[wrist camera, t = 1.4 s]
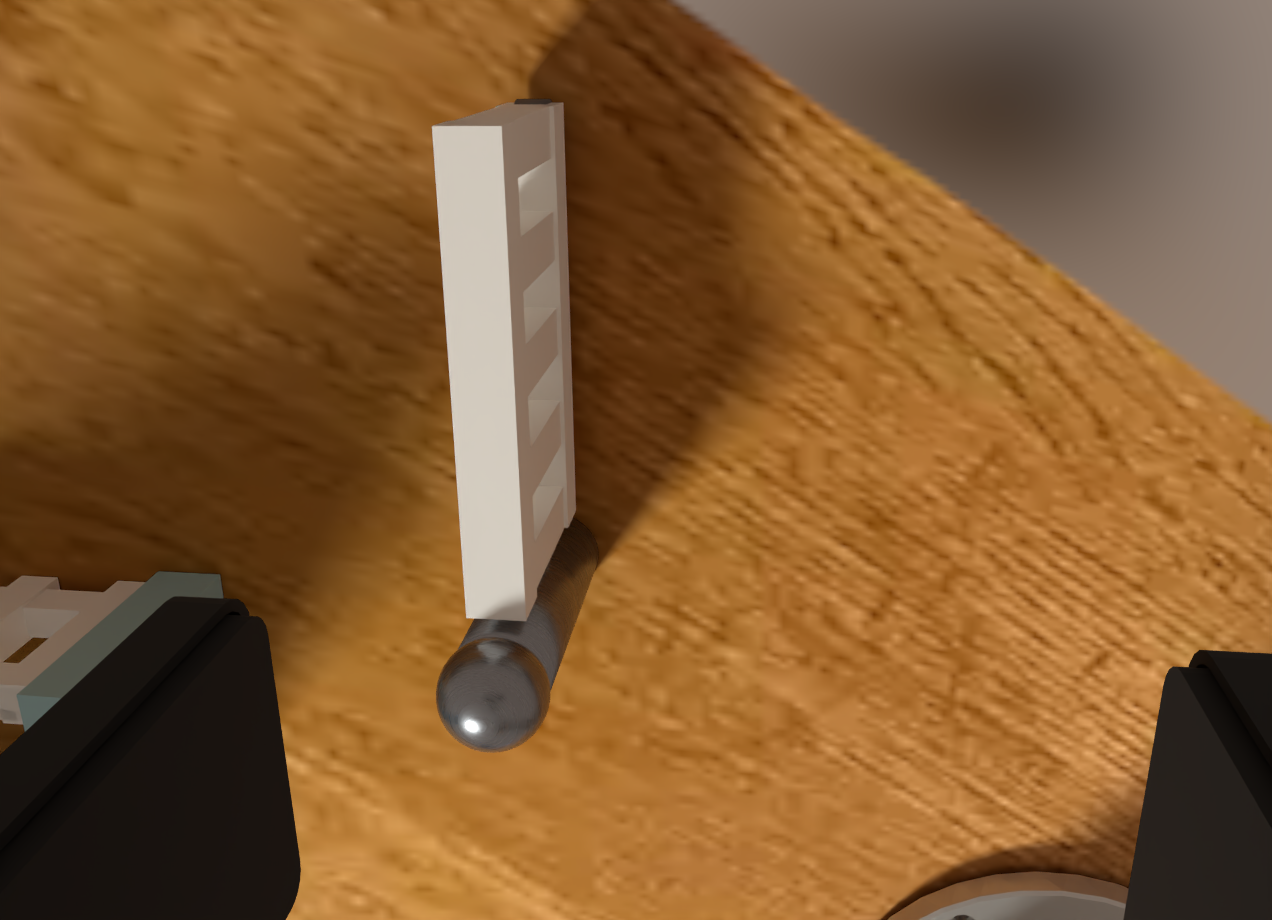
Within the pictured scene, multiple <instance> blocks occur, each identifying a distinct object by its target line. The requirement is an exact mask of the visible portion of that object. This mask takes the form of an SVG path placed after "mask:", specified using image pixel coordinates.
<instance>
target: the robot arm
mask: <svg viewBox="0 0 1272 920" xmlns="http://www.w3.org/2000/svg"><path fill="white" fill-rule="evenodd" d="M300 872H301V868H300V857H299V850H298V843H297V836H296V829H295V821H294V814H293V807H292V800H291V793H290V786H289V779H288V772H287V765H286V758H285V751H284V744H283V737H282V730H281V723H280V716H279V709H278V702H277V694H276V687H275V680H274V673H273V666H272V659H271V652H270V645H269V638H268V633H267V628H266V625H265V623H264V622H263V620H262V619H261V618H259V617H256V616H250V615H249V612H248V610H247V608H246V606H245V605H244V603H242V602H241V601H240V600H238V599H224V598H205V597H186V596H174V597H172V598H170V599H169V600H167V601H166V602H164V603H163V604H162V605H161V606H160V607H159V608H158V609H157V610H156V611H155V612H154V613H153V614H152V615H150V616H149V617H148V618H147V619H146V620H145V621H144V622H143V623H142V624H141V625H140V626H139V627H138V628H136V629H135V630H134V631H133V632H132V633H131V634H130V635H129V636H128V637H127V638H126V639H125V640H124V641H122V642H121V643H120V644H119V645H118V646H117V647H116V648H115V649H114V650H113V651H112V652H111V653H109V654H108V655H107V656H106V657H105V658H104V659H103V660H102V661H101V662H100V663H99V664H98V665H97V666H95V667H94V668H93V669H92V670H91V671H90V672H89V673H88V674H87V675H86V676H85V677H84V678H83V679H81V680H80V681H79V682H78V683H77V684H76V685H75V686H74V687H73V688H72V689H71V690H70V691H69V692H67V693H66V694H65V695H64V696H63V697H62V698H61V699H60V700H59V701H58V702H57V703H56V704H55V705H53V706H52V707H51V708H50V709H49V710H48V711H47V712H46V713H45V714H44V715H43V716H42V717H40V718H39V719H38V720H37V721H36V722H35V723H34V724H33V725H32V726H31V727H30V728H29V729H28V730H26V731H25V732H24V733H23V734H22V735H21V736H20V737H19V738H18V739H17V740H16V741H15V742H14V743H12V744H11V745H10V746H9V747H8V748H7V749H6V750H5V751H4V752H3V753H2V754H1V755H0V920H286V918H287V916H288V914H289V913H290V911H291V909H292V907H293V904H294V902H295V899H296V896H297V893H298V888H299V883H300ZM888 920H1272V654H1266V653H1247V652H1228V651H1209V650H1199V651H1198V652H1197V653H1195V654H1194V656H1193V658H1192V660H1191V662H1190V664H1189V667H1172V668H1171V669H1169V671H1168V673H1167V675H1166V678H1165V682H1164V686H1163V691H1162V697H1161V703H1160V709H1159V715H1158V720H1157V726H1156V732H1155V738H1154V744H1153V750H1152V755H1151V761H1150V767H1149V773H1148V779H1147V785H1146V790H1145V796H1144V802H1143V808H1142V814H1141V820H1140V825H1139V831H1138V837H1137V843H1136V849H1135V855H1134V860H1133V866H1132V872H1131V878H1130V884H1129V888H1126V887H1124V886H1122V885H1119V884H1116V883H1111V882H1107V881H1103V880H1099V879H1094V878H1090V877H1086V876H1082V875H1076V874H1063V873H1050V872H1037V871H1036V872H1022V873H1008V874H995V875H991V876H986V877H982V878H977V879H973V880H969V881H964V882H960V883H956V884H953V885H951V886H948V887H946V888H944V889H941V890H939V891H936V892H934V893H931V894H929V895H926V896H924V897H921V898H920V899H918V900H916V901H915V902H913V903H912V904H910V905H908V906H907V907H905V908H904V909H902V910H900V911H899V912H897V913H895V914H894V915H892V916H891V917H890V918H889V919H888Z"/></svg>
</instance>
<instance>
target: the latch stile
mask: <svg viewBox="0 0 1272 920" xmlns="http://www.w3.org/2000/svg"><path fill="white" fill-rule="evenodd" d="M174 596H186V597H205V598H224V597H223V591H222V584H221V578H220V574H201V573H182V572H163V571H158V572H157V573H156V574H155V575H153V576H152V577H151V578H150V579H149V580H148V581H147V582H145V583H144V584H143V585H142V586H141V587H140V588H138V589H137V590H136V591H135V592H134V593H133V594H132V595H130V596H129V597H128V598H127V599H126V600H125V601H124V602H122V603H121V604H120V605H119V606H118V607H117V608H116V609H114V610H113V611H112V612H111V613H110V614H109V615H107V616H106V617H105V618H104V619H103V620H102V621H101V622H99V623H98V624H97V625H96V626H95V627H94V628H93V629H91V630H90V631H89V632H88V633H87V634H86V635H84V636H83V637H82V638H81V639H80V640H79V641H78V642H76V643H75V644H74V645H73V646H72V647H71V648H70V649H68V650H67V651H66V652H65V653H64V654H63V655H62V656H60V657H59V658H58V659H57V660H56V661H55V662H53V663H52V664H51V665H50V666H49V667H48V668H47V669H45V670H44V671H43V672H42V673H41V674H40V675H39V676H37V677H36V678H35V679H34V680H33V681H32V682H30V683H29V684H28V685H27V686H26V687H25V688H24V689H22V690H21V691H20V692H19V693H18V694H17V700H18V704H19V708H20V713H21V717H22V721H23V726H24V730H25V731H26V730H28V729H29V728H30V727H31V726H32V725H33V724H34V723H35V722H36V721H37V720H38V719H39V718H40V717H42V716H43V715H44V714H45V713H46V712H47V711H48V710H49V709H50V708H51V707H52V706H53V705H55V704H56V703H57V702H58V701H59V700H60V699H61V698H62V697H63V696H64V695H65V694H66V693H67V692H69V691H70V690H71V689H72V688H73V687H74V686H75V685H76V684H77V683H78V682H79V681H80V680H81V679H83V678H84V677H85V676H86V675H87V674H88V673H89V672H90V671H91V670H92V669H93V668H94V667H95V666H97V665H98V664H99V663H100V662H101V661H102V660H103V659H104V658H105V657H106V656H107V655H108V654H109V653H111V652H112V651H113V650H114V649H115V648H116V647H117V646H118V645H119V644H120V643H121V642H122V641H124V640H125V639H126V638H127V637H128V636H129V635H130V634H131V633H132V632H133V631H134V630H135V629H136V628H138V627H139V626H140V625H141V624H142V623H143V622H144V621H145V620H146V619H147V618H148V617H149V616H150V615H152V614H153V613H154V612H155V611H156V610H157V609H158V608H159V607H160V606H161V605H162V604H163V603H164V602H166V601H167V600H169V599H170V598H172V597H174Z"/></svg>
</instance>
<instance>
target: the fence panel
mask: <svg viewBox="0 0 1272 920" xmlns="http://www.w3.org/2000/svg"><path fill="white" fill-rule="evenodd" d="M144 583H145V582H133V581H117V582H116V583H114V584H113V585H112V586H111V587H110V588H108V589H107V590H106V591H105V592H90V591H72V590H60V586H59V581H58V577H40V576H21V577H19V578H18V579H17V580H15V581H14V582H12V583H11V584H10V585H8V586H7V587H0V720H2V721H3V723H9V724H23V721H22V717H21V713H20V708H19V704H18V700H17V694H18V693H19V692H20V691H21V690H22V689H24V688H25V687H26V686H27V685H28V684H29V683H30V682H32V681H33V680H34V679H35V678H36V677H37V676H39V675H40V674H41V673H42V672H43V671H44V670H45V669H47V668H48V667H49V666H50V665H51V664H52V663H53V662H55V661H56V660H57V659H58V658H59V657H60V656H62V655H63V654H64V653H65V652H66V651H67V650H68V649H70V648H71V647H72V646H73V645H74V644H75V643H76V642H78V641H79V640H80V639H81V638H82V637H83V636H84V635H86V634H87V633H88V632H89V631H90V630H91V629H93V628H94V627H95V626H96V625H97V624H98V623H99V622H101V621H102V620H103V619H104V618H105V617H106V616H107V615H109V614H110V613H111V612H112V611H113V610H114V609H116V608H117V607H118V606H119V605H120V604H121V603H122V602H124V601H125V600H126V599H127V598H128V597H129V596H130V595H132V594H133V593H134V592H135V591H136V590H137V589H138V588H140V587H141V586H142V585H143V584H144ZM33 637H35V638H48V639H47V640H46V641H45V642H44V643H42V644H41V645H40V646H39V647H38V648H36V649H35V650H34V651H33V652H32V653H30V654H29V655H28V656H27V657H26V658H24V659H23V660H22V661H21V662H20V663H5V662H4V661H5V660H6V659H7V658H9V657H10V656H11V655H12V654H13V653H15V652H16V651H17V650H18V649H20V648H21V647H22V646H23V645H25V644H26V643H27V642H28V641H29V640H31V639H32V638H33Z"/></svg>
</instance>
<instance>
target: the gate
mask: <svg viewBox="0 0 1272 920" xmlns="http://www.w3.org/2000/svg"><path fill="white" fill-rule="evenodd" d="M432 135H433V149H434V163H435V177H436V192H437V206H438V220H439V234H440V249H441V263H442V277H443V291H444V306H445V320H446V334H447V348H448V363H449V377H450V391H451V406H452V420H453V434H454V448H455V463H456V477H457V491H458V505H459V520H460V534H461V548H462V562H463V577H464V591H465V605H466V618H477V619H495V620H513V621H526V620H527V618H528V616H529V614H530V612H531V609H532V607H533V605H534V603H535V600H536V598H537V587H538V585H539V582H540V580H541V578H542V576H543V574H544V572H545V569H546V567H547V565H548V563H549V561H550V558H551V556H552V554H553V552H554V550H555V547H556V545H557V543H558V541H559V539H560V537H561V534H562V532H563V530H564V528H568V527H569V525H570V523H571V521H572V518H573V516H574V514H575V512H576V492H575V460H574V427H573V395H572V363H571V331H570V299H569V267H568V235H567V202H566V170H565V138H564V106H563V103H552V101H551V99H516V101H515V103H505V104H502V105H498V106H496V108H493V109H490V110H486V111H483V112H480V113H477V114H474V115H470V116H467V117H464V118H461V119H458V120H455V121H447V122H443V123H440V124H437V125H434V126H432Z"/></svg>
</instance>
